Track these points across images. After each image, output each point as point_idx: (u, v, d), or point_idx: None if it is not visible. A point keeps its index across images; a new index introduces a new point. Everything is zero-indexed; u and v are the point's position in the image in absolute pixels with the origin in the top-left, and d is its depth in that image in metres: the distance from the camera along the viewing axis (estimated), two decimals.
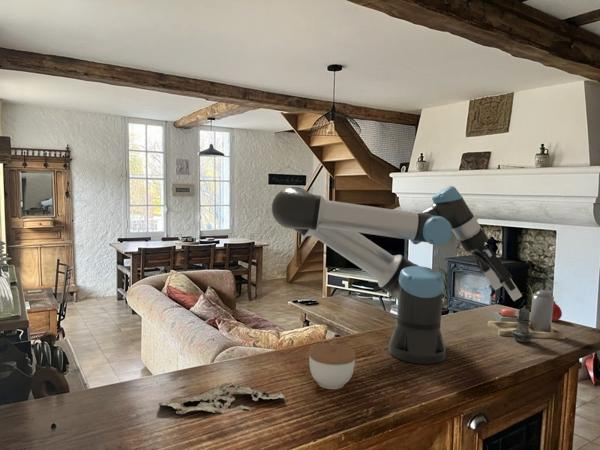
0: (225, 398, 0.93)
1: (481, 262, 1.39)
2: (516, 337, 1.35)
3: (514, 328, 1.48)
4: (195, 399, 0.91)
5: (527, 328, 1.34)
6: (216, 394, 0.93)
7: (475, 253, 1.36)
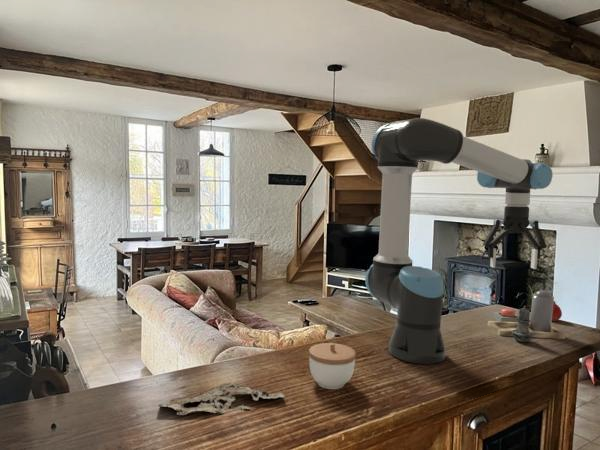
0: (225, 398, 0.93)
1: None
2: (516, 337, 1.35)
3: (514, 328, 1.48)
4: (195, 400, 0.91)
5: (527, 328, 1.34)
6: (216, 394, 0.93)
7: (515, 224, 1.51)
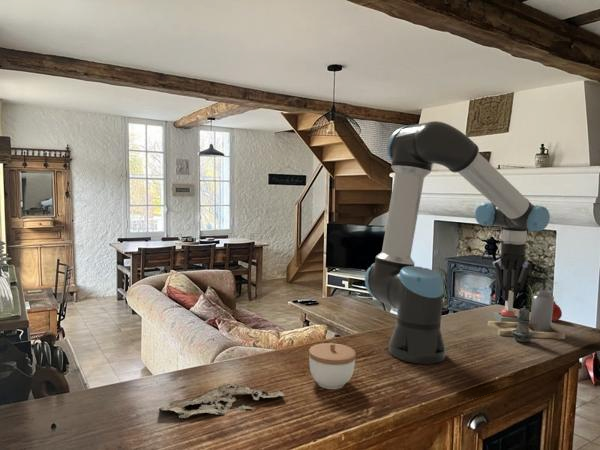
0: (226, 399, 0.92)
1: None
2: (516, 337, 1.35)
3: (514, 328, 1.48)
4: (196, 402, 0.90)
5: (527, 328, 1.34)
6: (217, 396, 0.93)
7: (511, 260, 1.53)
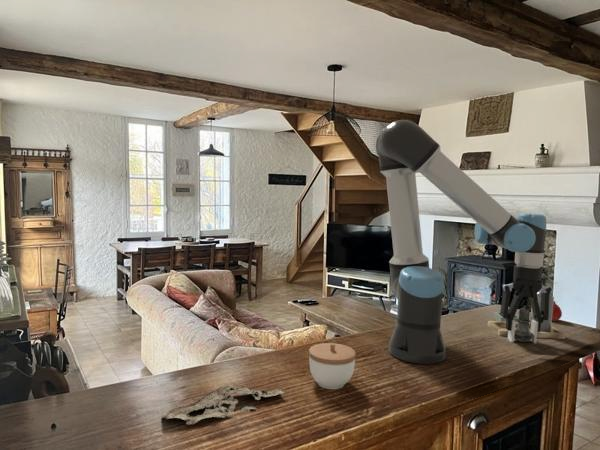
0: (228, 402, 0.91)
1: None
2: (516, 337, 1.35)
3: None
4: (199, 407, 0.88)
5: (527, 328, 1.34)
6: (218, 399, 0.91)
7: (525, 286, 1.33)
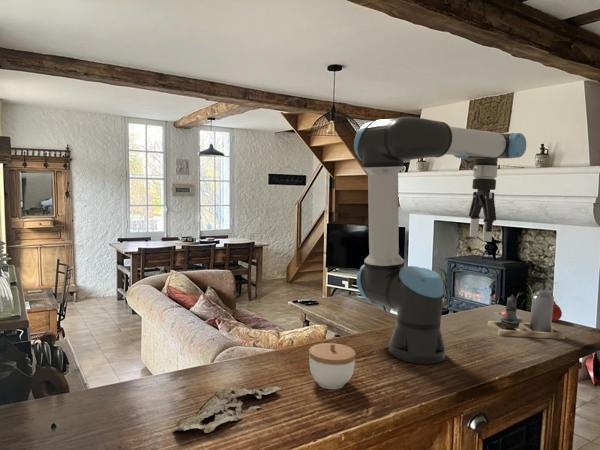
0: (233, 404, 0.90)
1: None
2: (517, 325, 1.43)
3: (514, 328, 1.48)
4: (209, 414, 0.86)
5: None
6: (223, 403, 0.90)
7: None
